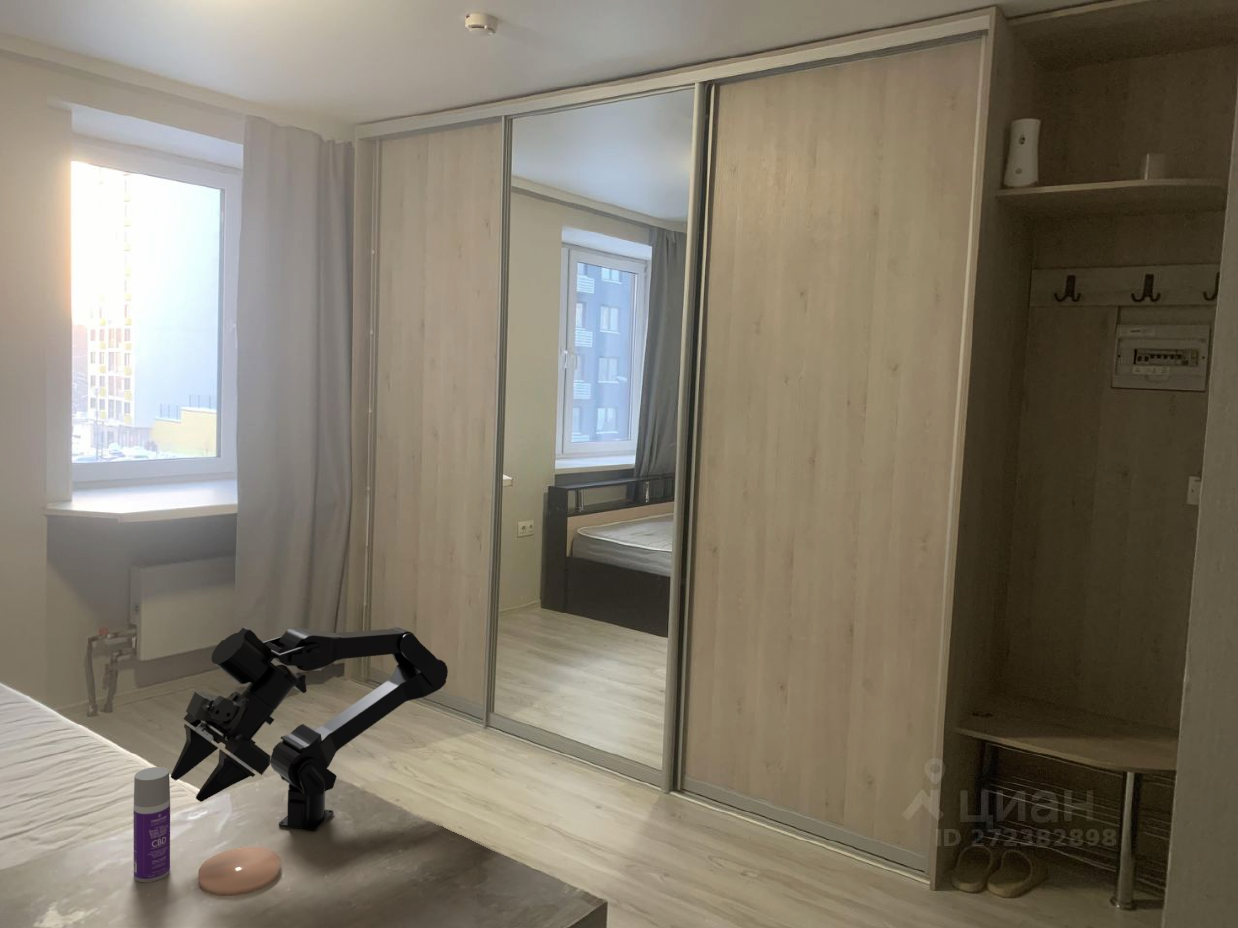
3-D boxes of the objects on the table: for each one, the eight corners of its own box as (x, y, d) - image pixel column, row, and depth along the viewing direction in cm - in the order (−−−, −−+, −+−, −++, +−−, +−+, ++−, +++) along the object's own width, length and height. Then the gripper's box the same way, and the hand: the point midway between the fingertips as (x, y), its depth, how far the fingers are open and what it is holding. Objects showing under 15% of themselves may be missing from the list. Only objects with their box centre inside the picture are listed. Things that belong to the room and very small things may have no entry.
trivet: (228, 850, 138) (228, 842, 138) (294, 859, 136) (294, 852, 136) (181, 889, 127) (181, 880, 127) (252, 900, 125) (252, 892, 125)
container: (154, 884, 128) (154, 782, 127) (125, 879, 129) (125, 777, 128) (177, 867, 133) (177, 768, 131) (149, 862, 134) (149, 764, 132)
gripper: (197, 656, 142) (120, 742, 135) (251, 687, 129) (169, 784, 122) (246, 694, 148) (175, 778, 141) (301, 727, 136) (227, 821, 129)
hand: (185, 789), depth 133 cm, fingers open, 9 cm apart
